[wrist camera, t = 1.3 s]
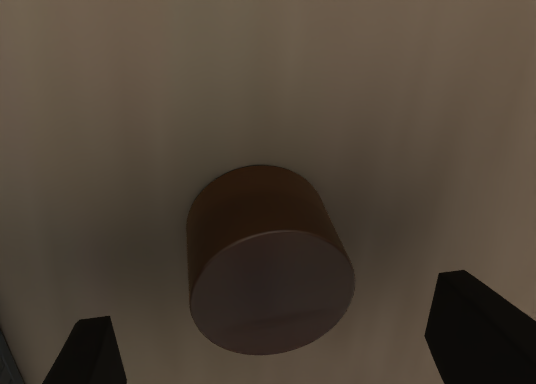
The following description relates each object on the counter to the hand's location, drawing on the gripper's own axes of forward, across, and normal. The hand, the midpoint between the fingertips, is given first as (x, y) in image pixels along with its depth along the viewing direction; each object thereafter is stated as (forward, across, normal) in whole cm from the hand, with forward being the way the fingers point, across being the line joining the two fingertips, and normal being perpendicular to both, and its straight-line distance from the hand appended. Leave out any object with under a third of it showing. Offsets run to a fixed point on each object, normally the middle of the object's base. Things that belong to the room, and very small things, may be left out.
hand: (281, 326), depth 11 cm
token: (+4, 0, 0) cm, 4 cm away
